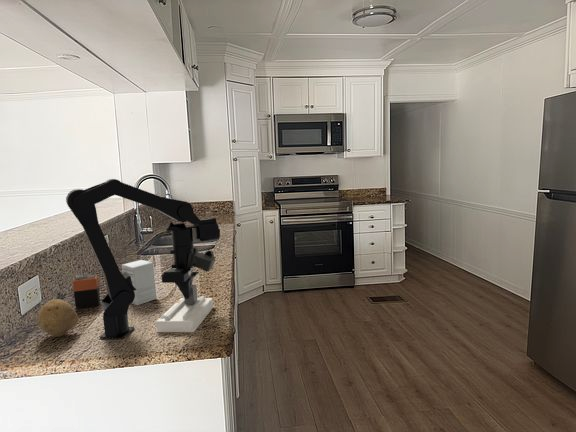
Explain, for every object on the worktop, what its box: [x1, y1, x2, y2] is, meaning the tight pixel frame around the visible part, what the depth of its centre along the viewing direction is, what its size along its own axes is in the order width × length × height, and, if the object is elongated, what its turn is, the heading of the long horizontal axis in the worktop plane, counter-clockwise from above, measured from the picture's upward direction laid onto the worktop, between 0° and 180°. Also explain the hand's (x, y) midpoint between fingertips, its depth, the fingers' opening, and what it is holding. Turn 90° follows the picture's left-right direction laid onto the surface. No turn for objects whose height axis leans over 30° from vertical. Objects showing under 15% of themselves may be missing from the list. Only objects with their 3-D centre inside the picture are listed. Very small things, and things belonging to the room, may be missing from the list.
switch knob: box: [183, 283, 198, 304], centre depth 119 cm, size 3×3×5 cm
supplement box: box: [121, 259, 158, 306], centre depth 133 cm, size 7×7×13 cm
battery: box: [72, 274, 101, 309], centre depth 131 cm, size 4×7×10 cm, turn 108°
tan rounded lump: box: [36, 298, 79, 338], centre depth 107 cm, size 9×9×10 cm
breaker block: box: [155, 295, 214, 333], centre depth 115 cm, size 18×10×4 cm, turn 174°
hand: (187, 298), depth 116 cm, fingers closed
